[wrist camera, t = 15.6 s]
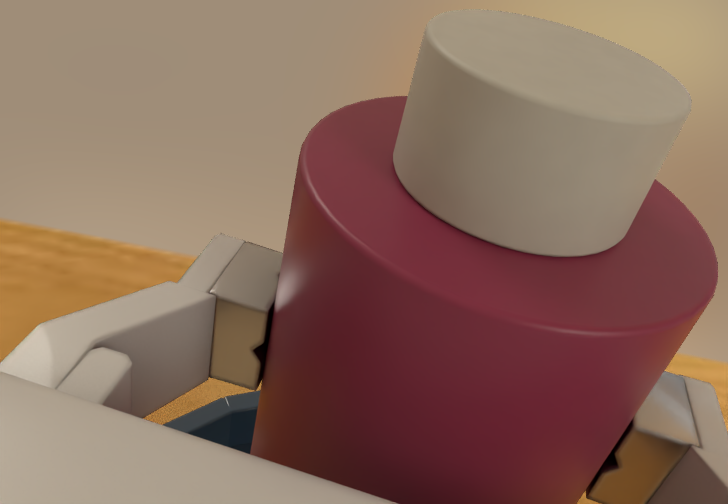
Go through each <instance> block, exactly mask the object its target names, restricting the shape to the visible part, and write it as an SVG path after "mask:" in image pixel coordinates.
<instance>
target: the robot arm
mask: <svg viewBox="0 0 728 504" xmlns="http://www.w3.org/2000/svg"><path fill="white" fill-rule="evenodd" d="M282 258H283V253H281V252H278V251H275V250H272V249H269V248H266V247H263V246H260V245H256V244H253V243H250V242H246V241H244V240H241V239H238V238H234V237H231V236H228V235H225V234H222V233H221V234H218V235H216V236H215V237H214V238H213V239H212V240H211V241H210V243H209V244H208V245H207V246H206V248H205V249H204V250H203V252H202V253H201V254H200V255H199V256H198V258H197V259H196V260H195V261H194V263H193V264H192V265H191V266H190V268H189V269H188V270H187V271H186V273H185V274H184V275H183V276H182V278H181V279H180V280H179V281H178V283H174V282H171V281H168V282H164V283H161V284H158V285H155V286H152V287H149V288H146V289H143V290H140V291H137V292H134V293H131V294H128V295H125V296H122V297H119V298H116V299H113V300H110V301H107V302H104V303H101V304H98V305H95V306H92V307H89V308H86V309H83V310H80V311H77V312H74V313H71V314H68V315H65V316H62V317H59V318H56V319H53V320H50V321H47V322H43V323H40V324H39V325H38V326H37V327H36V328H35V329H34V330H33V331H32V332H31V333H30V334H29V335H28V336H27V337H26V338H25V339H24V340H23V341H22V342H21V343H20V344H19V345H18V346H17V347H16V348H15V349H14V350H13V351H12V352H11V353H10V354H9V355H8V356H7V357H6V358H5V359H4V360H3V361H2V362H1V363H0V504H398V503H395V502H392V501H389V500H386V499H383V498H380V497H377V496H374V495H371V494H368V493H365V492H362V491H359V490H356V489H353V488H350V487H347V486H344V485H341V484H338V483H335V482H332V481H329V480H326V479H323V478H320V477H317V476H314V475H311V474H308V473H305V472H302V471H299V470H296V469H293V468H290V467H287V466H284V465H281V464H278V463H275V462H272V461H269V460H266V459H263V458H260V457H257V456H254V455H250V454H247V453H244V452H241V451H238V450H235V449H232V448H229V447H226V446H223V445H220V444H217V443H214V442H211V441H208V440H205V439H202V438H199V437H196V436H193V435H190V434H187V433H184V432H181V431H178V430H175V429H172V428H169V427H166V426H163V425H160V424H157V423H154V422H151V421H148V420H145V419H142V418H144V417H146V416H147V415H149V414H151V413H152V412H154V411H156V410H158V409H159V408H161V407H163V406H164V405H166V404H168V403H169V402H171V401H173V400H175V399H176V398H178V397H180V396H181V395H183V394H185V393H186V392H188V391H190V390H191V389H193V388H195V387H197V386H198V385H200V384H202V383H203V382H205V381H207V380H208V377H211V378H214V379H218V380H221V381H224V382H228V383H231V384H235V385H238V386H241V387H245V388H248V389H251V390H255V391H256V390H257V388H258V386H259V384H260V382H261V380H262V378H263V373H264V367H265V361H266V355H267V349H268V343H269V337H270V330H271V324H272V318H273V312H274V306H275V300H276V294H277V288H278V282H279V276H280V270H281V264H282ZM586 498H587V499H590V500H593V501H596V502H598V503H601V504H728V433H727V429H726V426H725V422H724V419H723V416H722V412H721V409H720V405H719V402H718V399H717V395H716V392H715V389H714V387H713V386H712V385H711V384H710V383H708V382H704V381H700V380H697V379H693V378H690V377H686V376H683V375H675V374H672V373H669V372H666V371H664V372H663V373H662V375H661V376H660V378H659V379H658V381H657V382H656V384H655V386H654V387H653V389H652V390H651V392H650V393H649V395H648V396H647V398H646V399H645V401H644V402H643V404H642V405H641V407H640V408H639V410H638V411H637V413H636V414H635V416H634V417H633V419H632V420H631V422H630V423H629V425H628V426H627V428H626V429H625V431H624V432H623V434H622V435H621V437H620V438H619V440H618V442H617V443H616V445H615V446H614V448H613V449H612V451H611V452H610V454H609V455H608V457H607V458H606V460H605V461H604V463H603V464H602V466H601V467H600V469H599V470H598V472H597V473H596V475H595V476H594V478H593V479H592V481H591V482H590V484H589V485H588V487H587V488H586Z"/></svg>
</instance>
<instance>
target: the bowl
mask: <svg viewBox="0 0 728 504" xmlns="http://www.w3.org/2000/svg"><path fill="white" fill-rule="evenodd" d="M260 391H261V390H260ZM260 391H254V392H248V393H243V394H237V395H231V396H226V397H224V398H220V399H218V400H216V401H213V402H211V403H209V404H207V405H205V406H202V407H200V408H198V409H196V410H194V411H191V412H189V413H187V414H185V415H183V416H180V417H178V418H176V419H174V420H172V421H169V422H167V423H165V424H163V426H166V427H169V428H172V429H175V430H178V431H181V432H184V433H187V434H190V435H193V436H196V437H199V438H202V439H205V440H208V441H211V442H214V443H217V444H220V445H223V446H226V447H229V448H232V449H235V450H238V451H241V452H244V453H247V454H250V452H251V446H252V440H253V434H254V428H255V422H256V416H257V409H258V403H259V397H260Z"/></svg>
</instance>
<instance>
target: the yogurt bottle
mask: <svg viewBox="0 0 728 504" xmlns="http://www.w3.org/2000/svg"><path fill="white" fill-rule="evenodd" d="M690 111H691V97H690V94H689V93H688V91H687V90H686V88H685V87H684V86H683V85H682V84H681V83H680V82H679V81H678V80H677V79H676V78H675V77H673V76H672V75H671V74H670V73H668V72H667V71H666V70H664V69H663V68H661V67H660V66H658V65H656V64H655V63H654V62H652V61H650V60H649V59H647V58H645V57H643V56H641V55H639V54H638V53H635V52H634V51H632V50H629V49H627V48H625V47H623V46H621V45H618V44H616V43H614V42H612V41H609V40H607V39H604V38H601V37H599V36H596V35H593V34H591V33H588V32H585V31H582V30H579V29H576V28H573V27H570V26H566V25H563V24H560V23H556V22H552V21H548V20H544V19H540V18H535V17H531V16H526V15H521V14H516V13H509V12H502V11H492V10H456V11H450V12H445V13H442V14H439V15H437V16H435V17H433V18H432V19H431V20H430V21H429V23H428V24H427V25H426V28H425V31H424V35H423V39H422V43H421V47H420V50H419V54H418V58H417V62H416V66H415V70H414V74H413V78H412V82H411V86H410V90H409V94H408V96H396V97H384V98H376V99H371V100H366V101H360V102H357V103H354V104H351V105H347V106H344V107H342V108H340V109H338V110H336V111H334V112H332V113H330V114H329V115H327V116H326V117H324V118H323V119H321V120H320V121H319V122H318V123H317V124H316V125H315V126H314V127H313V128H312V129H311V131H310V132H309V133H308V136H307V137H306V139H305V141H304V142H303V144H302V147H301V151H300V155H299V160H298V167H297V173H296V179H295V185H294V191H293V197H292V203H291V209H290V215H289V221H288V228H287V233H286V240H285V246H284V252H283V258H282V264H281V270H280V276H279V282H278V288H277V294H276V300H275V306H274V312H273V318H272V324H271V330H270V337H269V343H268V349H267V355H266V361H265V367H264V373H263V379H262V385H261V391H260V397H259V403H258V409H257V416H256V422H255V428H254V434H253V440H252V446H251V452H250V455H254V456H257V457H260V458H263V459H266V460H269V461H272V462H275V463H278V464H281V465H284V466H287V467H290V468H293V469H296V470H299V471H302V472H305V473H308V474H311V475H314V476H317V477H320V478H323V479H326V480H329V481H332V482H335V483H338V484H341V485H344V486H347V487H350V488H353V489H356V490H359V491H362V492H365V493H368V494H371V495H374V496H377V497H380V498H383V499H386V500H389V501H392V502H395V503H398V504H577V502H578V501H579V499H580V498H581V496H582V494H583V493H584V491H585V490H586V488H587V487H588V485H589V484H590V482H591V481H592V479H593V478H594V476H595V475H596V473H597V472H598V470H599V469H600V467H601V466H602V464H603V463H604V461H605V460H606V458H607V457H608V455H609V454H610V452H611V451H612V449H613V448H614V446H615V445H616V443H617V442H618V440H619V438H620V437H621V435H622V434H623V432H624V431H625V429H626V428H627V426H628V425H629V423H630V422H631V420H632V419H633V417H634V416H635V414H636V413H637V411H638V410H639V408H640V407H641V405H642V404H643V402H644V401H645V399H646V398H647V396H648V395H649V393H650V392H651V390H652V389H653V387H654V386H655V384H656V382H657V381H658V379H659V378H660V376H661V375H662V373H663V372H664V370H665V369H666V367H667V366H668V364H669V363H670V361H671V360H672V358H673V357H674V355H675V354H676V352H677V351H678V349H679V348H680V346H681V345H682V343H683V342H684V340H685V339H686V337H687V336H688V334H689V333H690V331H691V330H692V328H693V326H694V325H695V323H696V322H697V320H698V319H699V317H700V316H701V314H702V313H703V311H704V310H705V308H706V307H707V305H708V304H709V302H710V301H711V299H712V298H713V296H714V292H715V289H716V285H717V280H718V262H717V259H716V255H715V251H714V248H713V246H712V243H711V242H710V239H709V237H708V235H707V233H706V232H705V230H704V229H703V227H702V226H701V224H700V223H699V221H698V220H697V219H696V217H695V216H694V215H693V214H692V213H691V212H690V211H689V209H688V208H687V207H686V206H685V205H684V204H683V203H682V202H681V201H680V200H679V199H678V198H677V197H676V196H675V195H674V194H673V193H672V192H671V191H669V190H668V189H667V188H666V187H664V186H663V185H662V184H661V183H659V182H658V181H657V180H656V179H655V178H656V176H657V174H658V172H659V170H660V168H661V167H662V165H663V163H664V161H665V159H666V157H667V155H668V153H669V151H670V150H671V147H672V146H673V144H674V142H675V140H676V138H677V136H678V134H679V132H680V130H681V128H682V127H683V125H684V123H685V121H686V119H687V117H688V115H689V113H690Z"/></svg>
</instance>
